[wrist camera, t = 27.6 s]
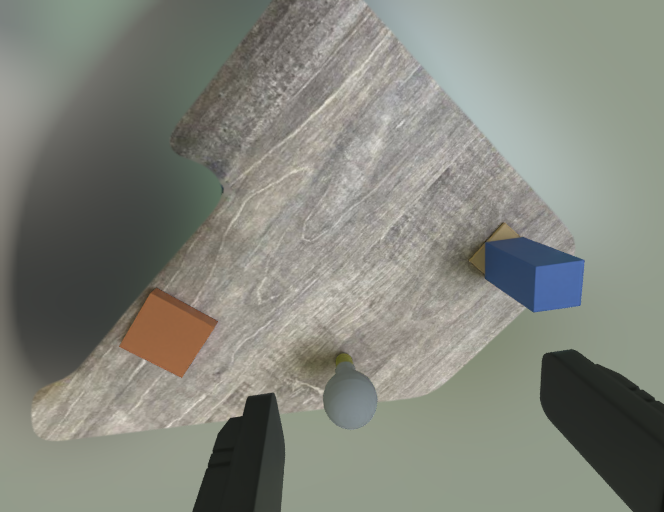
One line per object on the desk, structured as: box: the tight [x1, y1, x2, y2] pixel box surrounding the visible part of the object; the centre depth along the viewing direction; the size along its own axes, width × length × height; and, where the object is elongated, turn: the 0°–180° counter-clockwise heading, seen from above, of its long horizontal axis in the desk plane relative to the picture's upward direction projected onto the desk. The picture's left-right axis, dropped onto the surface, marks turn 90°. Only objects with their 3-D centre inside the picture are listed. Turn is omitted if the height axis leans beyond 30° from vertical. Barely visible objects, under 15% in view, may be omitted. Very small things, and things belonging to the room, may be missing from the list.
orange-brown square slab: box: [119, 288, 218, 378], centre depth 39 cm, size 8×8×2 cm
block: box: [485, 237, 585, 312], centre depth 35 cm, size 4×4×9 cm
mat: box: [469, 223, 520, 274], centre depth 39 cm, size 6×6×1 cm
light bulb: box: [323, 354, 377, 429], centre depth 37 cm, size 5×6×10 cm
